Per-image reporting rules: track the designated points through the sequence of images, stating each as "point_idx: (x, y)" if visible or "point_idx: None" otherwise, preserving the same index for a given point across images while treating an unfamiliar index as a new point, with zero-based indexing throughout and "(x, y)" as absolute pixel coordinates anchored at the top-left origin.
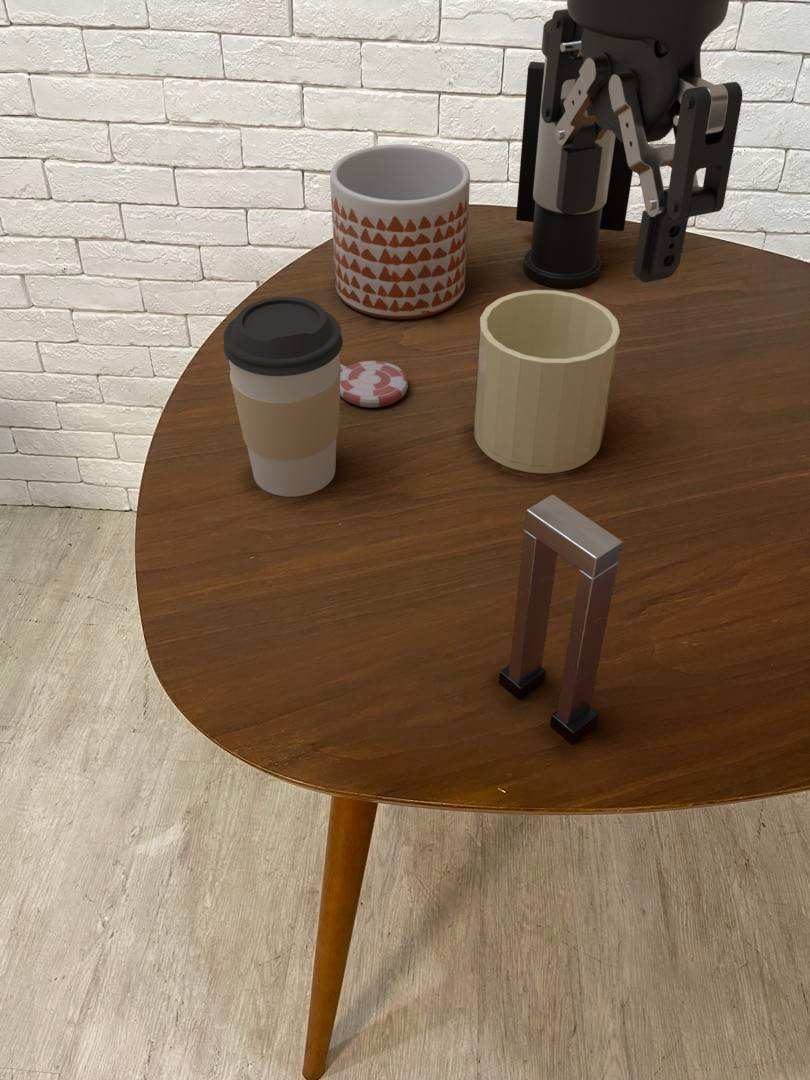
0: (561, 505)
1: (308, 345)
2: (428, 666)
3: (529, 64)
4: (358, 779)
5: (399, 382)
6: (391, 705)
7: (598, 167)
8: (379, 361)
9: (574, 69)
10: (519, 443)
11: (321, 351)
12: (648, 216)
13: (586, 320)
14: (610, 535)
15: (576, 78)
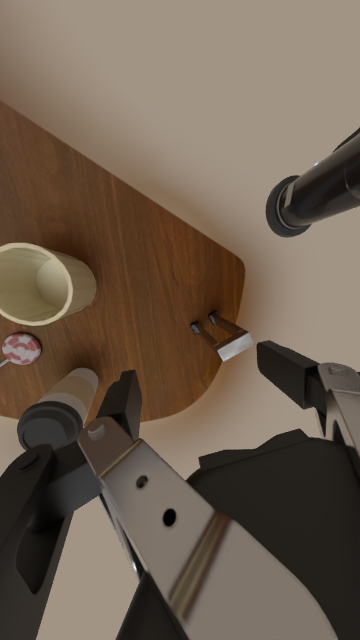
0: (225, 348)
1: (68, 423)
2: (184, 351)
3: None
4: (214, 372)
5: (24, 338)
6: (195, 362)
7: (129, 394)
8: (3, 344)
9: (8, 631)
10: (87, 302)
11: (70, 415)
12: (313, 406)
13: (10, 254)
14: (245, 335)
15: (23, 581)
